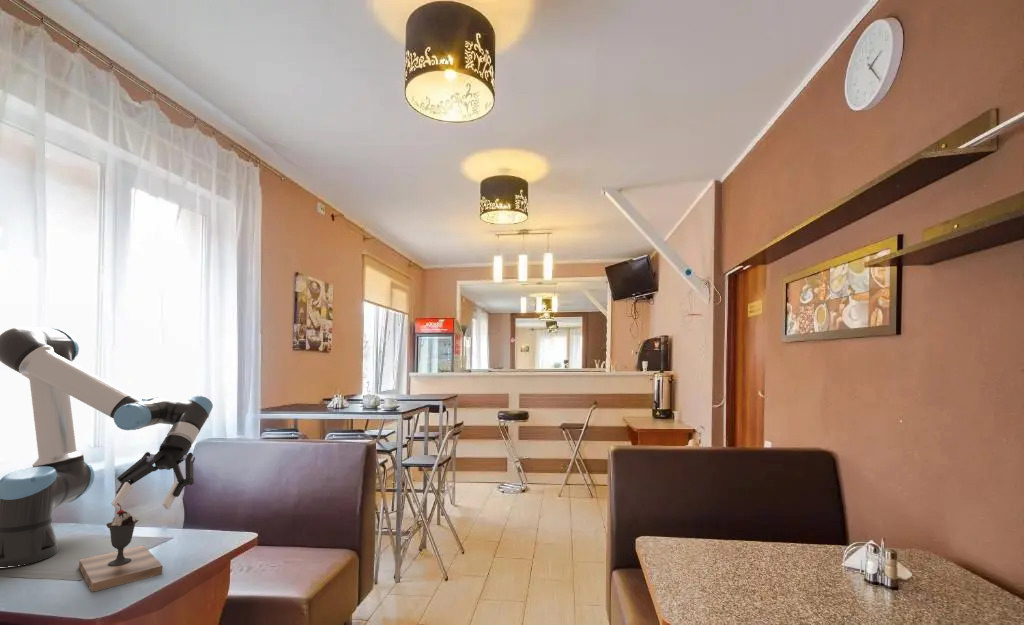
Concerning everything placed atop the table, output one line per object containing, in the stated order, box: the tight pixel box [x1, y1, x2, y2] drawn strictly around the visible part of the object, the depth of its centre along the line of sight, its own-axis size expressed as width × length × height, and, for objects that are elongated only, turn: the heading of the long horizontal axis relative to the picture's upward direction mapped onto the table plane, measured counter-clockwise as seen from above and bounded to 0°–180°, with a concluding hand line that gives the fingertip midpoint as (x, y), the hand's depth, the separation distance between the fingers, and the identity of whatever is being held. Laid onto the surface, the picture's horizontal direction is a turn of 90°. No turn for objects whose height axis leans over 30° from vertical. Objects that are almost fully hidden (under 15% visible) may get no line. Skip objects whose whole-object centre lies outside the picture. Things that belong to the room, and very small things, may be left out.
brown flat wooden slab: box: [78, 545, 164, 593], centre depth 130 cm, size 20×14×2 cm
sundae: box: [106, 503, 139, 566], centre depth 131 cm, size 7×7×15 cm
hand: (140, 506), depth 136 cm, fingers open, 13 cm apart
